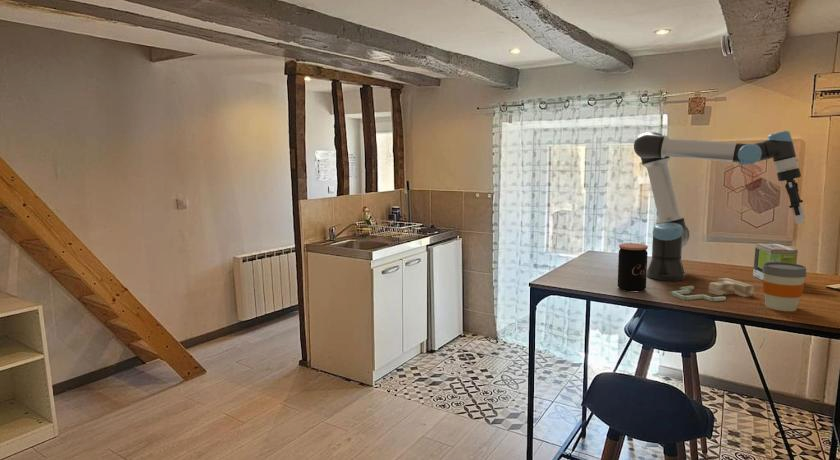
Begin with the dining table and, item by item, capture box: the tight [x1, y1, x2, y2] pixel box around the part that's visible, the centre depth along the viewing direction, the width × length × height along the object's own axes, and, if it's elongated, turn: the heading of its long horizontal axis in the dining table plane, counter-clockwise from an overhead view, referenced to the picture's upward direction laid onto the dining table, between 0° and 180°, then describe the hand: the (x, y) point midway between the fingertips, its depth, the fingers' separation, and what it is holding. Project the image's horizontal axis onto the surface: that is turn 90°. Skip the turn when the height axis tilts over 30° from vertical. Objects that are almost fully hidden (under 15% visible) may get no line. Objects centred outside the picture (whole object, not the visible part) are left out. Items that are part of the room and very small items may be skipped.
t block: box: [708, 277, 755, 298], centre depth 198 cm, size 12×13×4 cm
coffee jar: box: [617, 242, 649, 292], centre depth 205 cm, size 11×11×18 cm
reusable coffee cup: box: [761, 262, 807, 312], centre depth 177 cm, size 13×13×15 cm
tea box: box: [752, 243, 798, 281], centre depth 214 cm, size 15×10×15 cm, turn 168°
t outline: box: [669, 285, 727, 303], centre depth 195 cm, size 14×17×1 cm
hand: (800, 221), depth 204 cm, fingers open, 13 cm apart
